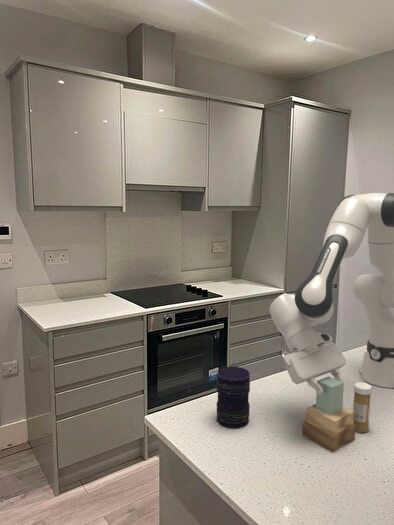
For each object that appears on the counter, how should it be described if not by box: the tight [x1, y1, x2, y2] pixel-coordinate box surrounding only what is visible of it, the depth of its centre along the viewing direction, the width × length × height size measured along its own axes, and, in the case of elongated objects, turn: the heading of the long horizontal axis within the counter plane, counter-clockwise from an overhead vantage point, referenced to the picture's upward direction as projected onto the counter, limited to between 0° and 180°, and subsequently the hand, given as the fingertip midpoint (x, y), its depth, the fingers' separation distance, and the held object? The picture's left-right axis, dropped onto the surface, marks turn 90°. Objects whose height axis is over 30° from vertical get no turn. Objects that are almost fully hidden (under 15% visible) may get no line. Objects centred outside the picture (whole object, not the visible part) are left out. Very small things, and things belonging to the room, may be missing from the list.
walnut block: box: [301, 419, 356, 454], centre depth 113 cm, size 10×10×4 cm
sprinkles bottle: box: [352, 381, 372, 434], centre depth 116 cm, size 5×5×14 cm
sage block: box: [315, 376, 345, 415], centre depth 112 cm, size 5×5×8 cm
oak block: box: [305, 403, 354, 436], centre depth 112 cm, size 9×9×4 cm
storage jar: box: [216, 366, 251, 430], centre depth 121 cm, size 10×10×15 cm
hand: (331, 389), depth 111 cm, fingers open, 7 cm apart
